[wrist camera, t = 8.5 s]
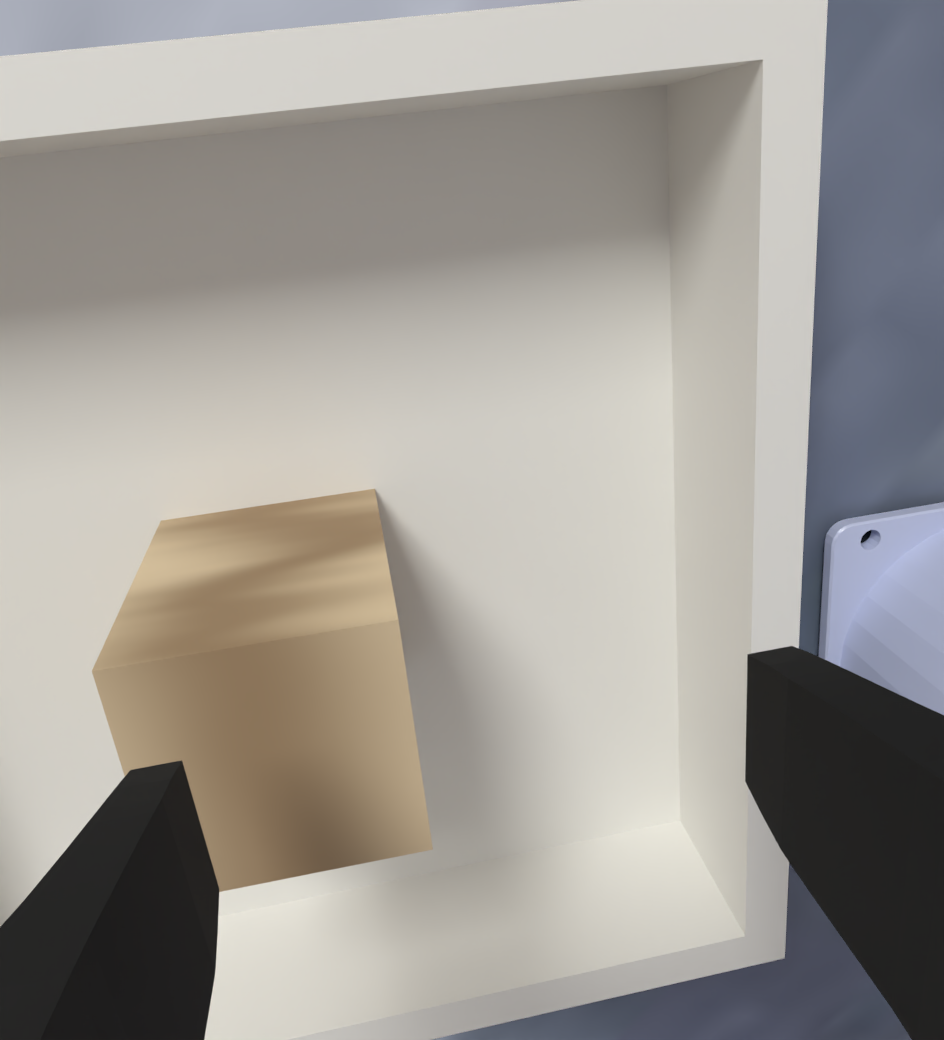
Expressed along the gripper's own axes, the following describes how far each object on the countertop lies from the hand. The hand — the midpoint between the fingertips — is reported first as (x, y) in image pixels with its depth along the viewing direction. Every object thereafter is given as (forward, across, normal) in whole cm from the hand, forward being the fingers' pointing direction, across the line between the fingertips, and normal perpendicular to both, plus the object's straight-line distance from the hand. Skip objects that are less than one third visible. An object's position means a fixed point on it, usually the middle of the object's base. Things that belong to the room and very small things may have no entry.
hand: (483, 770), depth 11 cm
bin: (+9, +3, +1) cm, 10 cm away
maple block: (+9, +3, +1) cm, 9 cm away
